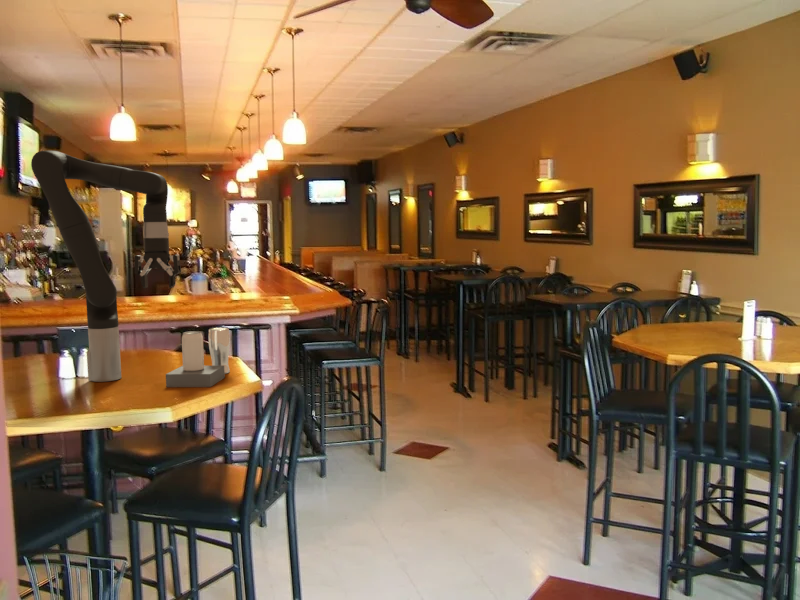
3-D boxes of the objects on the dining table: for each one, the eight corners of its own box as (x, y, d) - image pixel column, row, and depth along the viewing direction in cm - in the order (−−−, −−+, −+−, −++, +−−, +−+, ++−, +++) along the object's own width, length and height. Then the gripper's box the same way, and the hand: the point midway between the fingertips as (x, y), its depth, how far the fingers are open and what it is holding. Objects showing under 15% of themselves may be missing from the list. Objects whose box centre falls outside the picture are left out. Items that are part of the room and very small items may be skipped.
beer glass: (220, 370, 245) (218, 327, 243) (235, 371, 241) (233, 328, 240) (205, 373, 239) (203, 329, 237) (220, 375, 235) (218, 330, 234)
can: (179, 371, 223) (177, 333, 222) (190, 367, 229) (188, 330, 228) (197, 372, 221) (195, 334, 220) (208, 368, 227) (206, 331, 226)
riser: (166, 387, 219) (165, 374, 218) (183, 377, 233) (182, 365, 232) (210, 386, 218) (210, 374, 218) (224, 377, 232) (224, 365, 231)
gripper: (129, 237, 221) (131, 288, 223) (173, 236, 221) (175, 288, 222) (139, 237, 229) (142, 287, 230) (182, 236, 228) (184, 286, 230)
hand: (158, 287), depth 226 cm, fingers open, 8 cm apart
